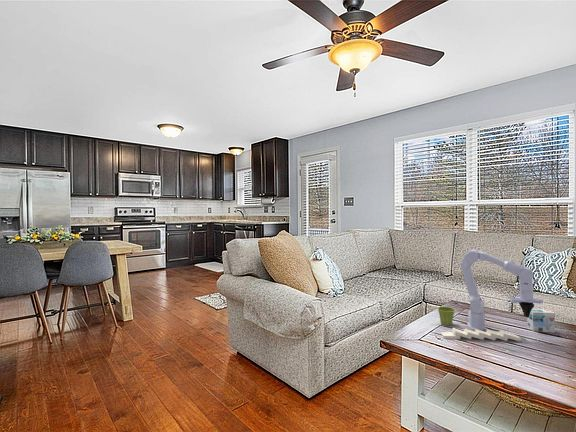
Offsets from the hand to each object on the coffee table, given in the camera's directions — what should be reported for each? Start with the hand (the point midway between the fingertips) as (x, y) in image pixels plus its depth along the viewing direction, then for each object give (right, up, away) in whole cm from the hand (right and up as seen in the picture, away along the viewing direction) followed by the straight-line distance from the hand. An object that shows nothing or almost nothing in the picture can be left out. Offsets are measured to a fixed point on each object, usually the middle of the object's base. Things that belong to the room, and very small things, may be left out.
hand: (526, 316), depth 167 cm
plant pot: (-31, -11, +21) cm, 40 cm away
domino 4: (-19, -10, -2) cm, 21 cm away
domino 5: (-13, -10, -3) cm, 17 cm away
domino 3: (-24, -10, -1) cm, 26 cm away
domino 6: (-8, -10, -4) cm, 13 cm away
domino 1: (-35, -10, +1) cm, 37 cm away
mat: (-20, -11, -2) cm, 23 cm away
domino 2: (-30, -10, 0) cm, 32 cm away
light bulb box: (+14, -10, +8) cm, 19 cm away
